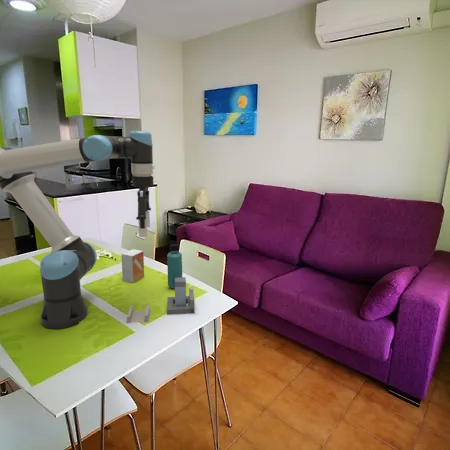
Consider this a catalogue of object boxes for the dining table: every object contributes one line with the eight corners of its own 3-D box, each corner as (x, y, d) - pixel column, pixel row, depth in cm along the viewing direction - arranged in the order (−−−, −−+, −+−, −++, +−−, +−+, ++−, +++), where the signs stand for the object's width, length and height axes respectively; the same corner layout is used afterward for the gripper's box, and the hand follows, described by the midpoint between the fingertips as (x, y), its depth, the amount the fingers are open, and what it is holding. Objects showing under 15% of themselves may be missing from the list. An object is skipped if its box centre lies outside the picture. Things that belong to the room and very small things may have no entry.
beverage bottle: (180, 292, 136) (179, 247, 131) (165, 290, 138) (164, 246, 133) (184, 286, 143) (184, 243, 138) (170, 284, 144) (169, 241, 139)
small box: (133, 283, 144) (132, 256, 141) (122, 280, 146) (120, 253, 143) (144, 276, 151) (143, 250, 148) (133, 274, 154) (132, 248, 150)
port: (167, 316, 118) (166, 299, 116) (167, 302, 127) (167, 287, 126) (194, 314, 119) (194, 298, 118) (192, 301, 129) (192, 286, 127)
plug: (175, 311, 121) (174, 282, 118) (175, 306, 125) (174, 277, 122) (186, 310, 122) (185, 281, 119) (185, 305, 125) (185, 277, 122)
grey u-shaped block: (126, 324, 112) (125, 316, 111) (129, 312, 119) (128, 305, 119) (149, 322, 113) (149, 315, 112) (151, 311, 121) (150, 304, 120)
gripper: (150, 179, 105) (152, 241, 110) (155, 172, 129) (156, 223, 134) (127, 179, 104) (130, 241, 109) (135, 172, 128) (138, 223, 133)
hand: (144, 231), depth 122 cm, fingers open, 13 cm apart
